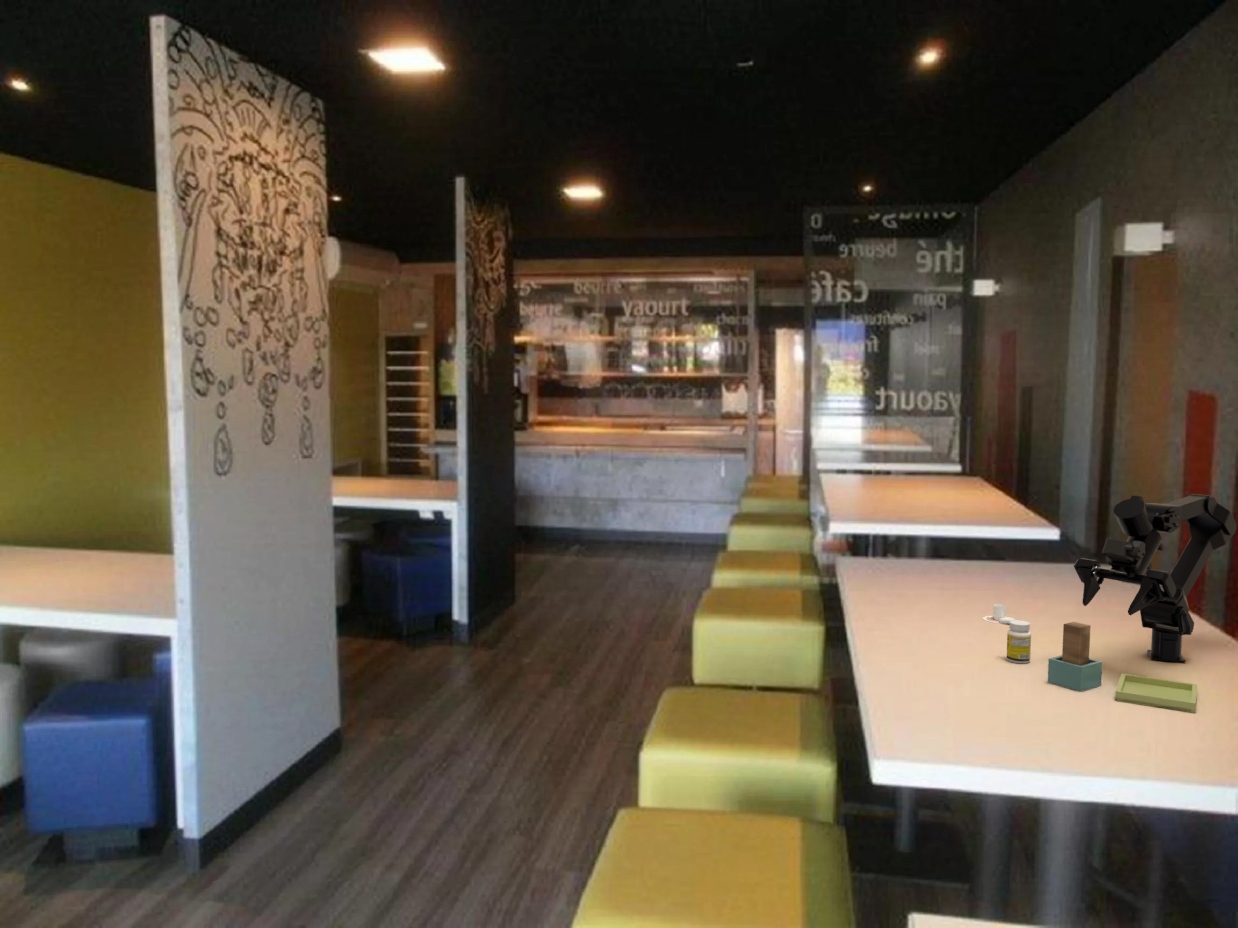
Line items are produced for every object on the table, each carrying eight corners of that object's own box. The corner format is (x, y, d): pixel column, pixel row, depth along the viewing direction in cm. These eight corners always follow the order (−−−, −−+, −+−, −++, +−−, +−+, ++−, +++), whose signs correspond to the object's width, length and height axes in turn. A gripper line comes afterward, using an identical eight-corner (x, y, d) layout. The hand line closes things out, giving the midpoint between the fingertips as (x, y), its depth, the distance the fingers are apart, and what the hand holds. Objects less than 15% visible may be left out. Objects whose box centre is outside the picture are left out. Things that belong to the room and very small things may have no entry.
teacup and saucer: (1017, 627, 238) (1018, 611, 237) (983, 624, 240) (983, 608, 240) (1015, 619, 246) (1016, 603, 246) (982, 616, 249) (982, 600, 248)
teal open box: (1068, 676, 198) (1069, 653, 197) (1101, 685, 192) (1102, 661, 191) (1047, 681, 194) (1048, 658, 193) (1080, 691, 188) (1081, 667, 187)
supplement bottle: (1010, 656, 212) (1012, 618, 211) (1033, 660, 209) (1034, 621, 208) (1003, 661, 208) (1004, 622, 207) (1026, 665, 205) (1027, 626, 204)
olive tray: (1121, 681, 194) (1121, 673, 194) (1196, 693, 187) (1197, 684, 187) (1115, 700, 183) (1115, 690, 183) (1195, 712, 176) (1195, 703, 176)
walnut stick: (1071, 679, 195) (1073, 621, 194) (1087, 684, 192) (1090, 625, 191) (1060, 682, 193) (1063, 623, 192) (1077, 687, 190) (1080, 627, 189)
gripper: (1081, 519, 205) (1048, 574, 199) (1174, 531, 189) (1141, 591, 184) (1098, 554, 210) (1067, 609, 204) (1189, 568, 194) (1158, 628, 189)
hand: (1106, 608), depth 195 cm, fingers open, 9 cm apart
